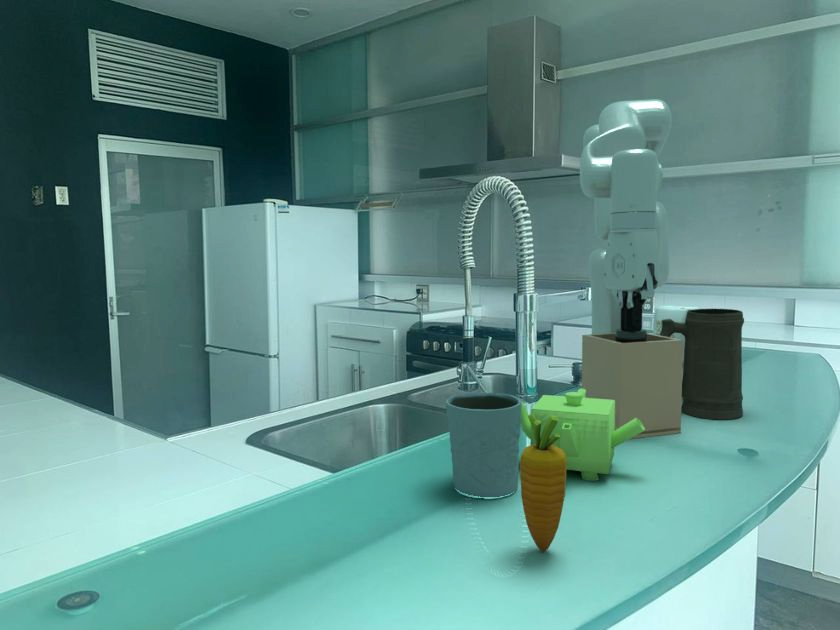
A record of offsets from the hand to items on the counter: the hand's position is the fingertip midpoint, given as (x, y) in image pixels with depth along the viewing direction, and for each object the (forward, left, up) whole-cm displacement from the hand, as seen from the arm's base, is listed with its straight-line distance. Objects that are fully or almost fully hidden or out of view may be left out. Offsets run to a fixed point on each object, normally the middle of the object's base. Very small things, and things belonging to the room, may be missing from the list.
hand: (631, 330), depth 111 cm
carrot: (+37, -36, -18) cm, 54 cm away
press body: (-1, 0, -17) cm, 17 cm away
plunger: (0, 0, -15) cm, 15 cm away
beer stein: (-4, +18, -18) cm, 26 cm away
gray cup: (+18, -35, -18) cm, 43 cm away
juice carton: (-17, +23, -18) cm, 34 cm away
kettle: (+15, -20, -18) cm, 30 cm away
